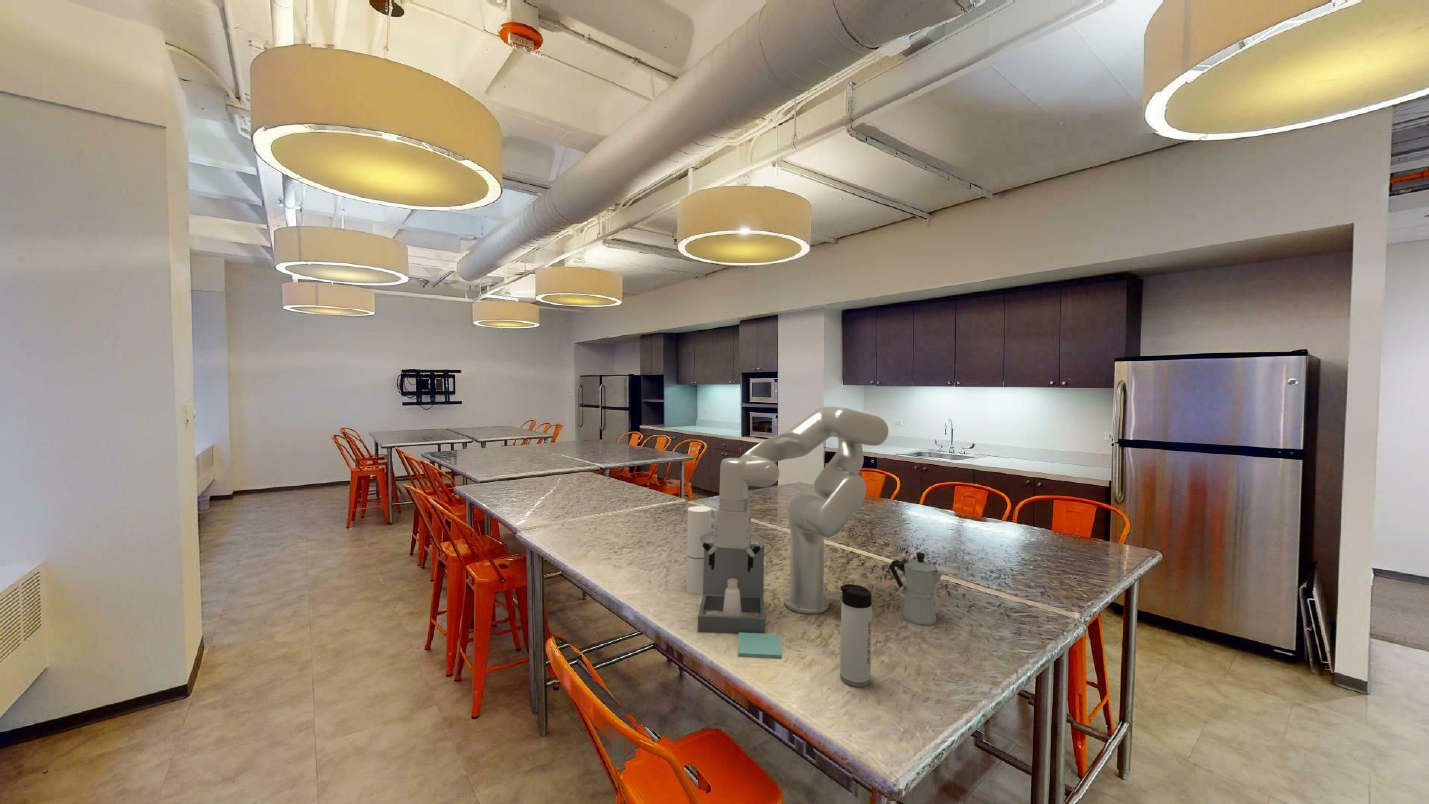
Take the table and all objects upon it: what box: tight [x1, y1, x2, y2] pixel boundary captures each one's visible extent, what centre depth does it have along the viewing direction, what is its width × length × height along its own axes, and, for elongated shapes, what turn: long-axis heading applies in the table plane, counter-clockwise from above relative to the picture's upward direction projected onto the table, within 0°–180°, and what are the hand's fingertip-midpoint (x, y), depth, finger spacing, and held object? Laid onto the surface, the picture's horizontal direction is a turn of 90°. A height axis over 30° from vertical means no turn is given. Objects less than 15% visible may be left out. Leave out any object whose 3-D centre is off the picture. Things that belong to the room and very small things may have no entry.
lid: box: [702, 542, 765, 597], centre depth 144 cm, size 17×14×1 cm
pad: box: [737, 632, 783, 660], centre depth 122 cm, size 10×10×1 cm
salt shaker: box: [722, 578, 743, 616], centre depth 135 cm, size 5×5×11 cm
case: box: [697, 594, 766, 635], centre depth 135 cm, size 17×14×4 cm
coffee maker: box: [888, 551, 945, 626], centre depth 139 cm, size 15×9×18 cm, turn 47°
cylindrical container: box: [686, 505, 712, 595], centre depth 156 cm, size 7×7×25 cm
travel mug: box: [839, 583, 873, 688], centre depth 108 cm, size 6×7×20 cm
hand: (730, 569), depth 135 cm, fingers open, 9 cm apart
